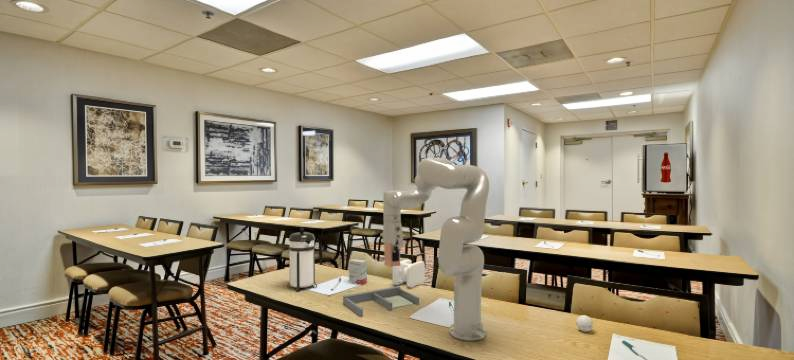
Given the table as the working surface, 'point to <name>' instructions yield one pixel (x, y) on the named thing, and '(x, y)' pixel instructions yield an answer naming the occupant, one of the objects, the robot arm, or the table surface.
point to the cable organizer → (409, 273)
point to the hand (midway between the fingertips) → (392, 259)
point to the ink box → (358, 271)
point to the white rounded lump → (584, 323)
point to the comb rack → (380, 299)
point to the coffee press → (302, 260)
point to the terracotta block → (390, 255)
